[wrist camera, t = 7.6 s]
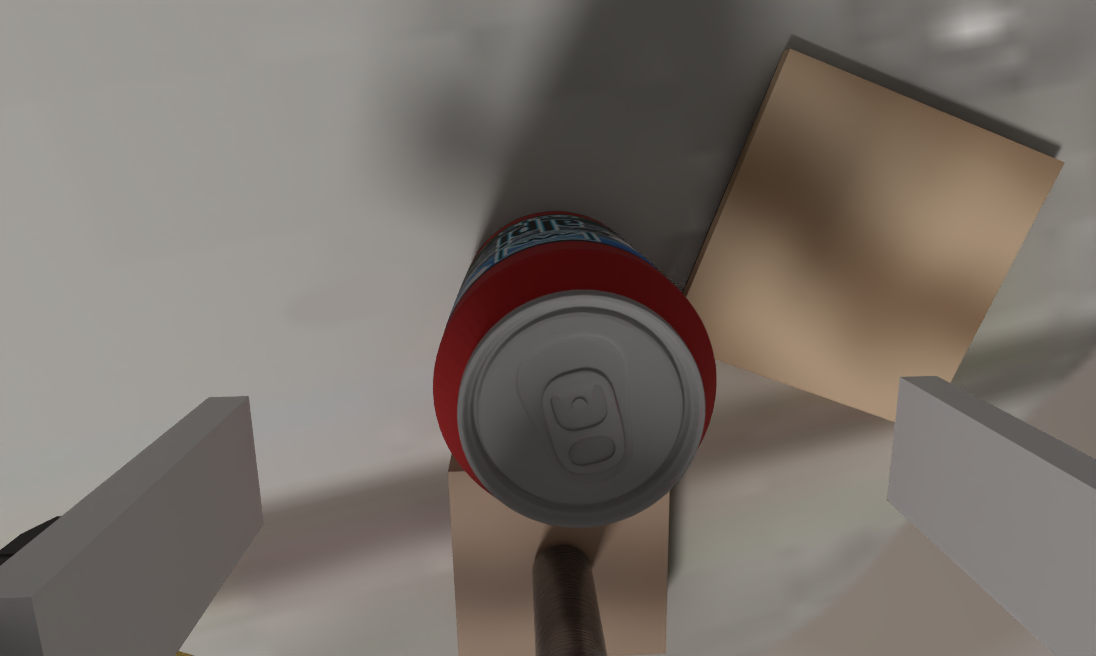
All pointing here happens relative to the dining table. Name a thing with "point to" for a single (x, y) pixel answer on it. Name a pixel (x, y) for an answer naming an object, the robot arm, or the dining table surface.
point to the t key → (563, 605)
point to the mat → (861, 237)
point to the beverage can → (572, 374)
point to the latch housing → (507, 560)
